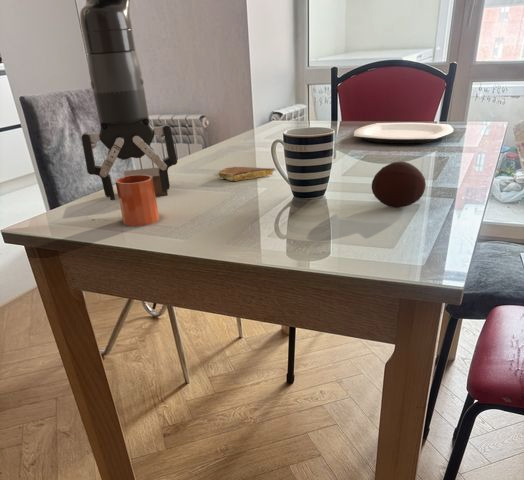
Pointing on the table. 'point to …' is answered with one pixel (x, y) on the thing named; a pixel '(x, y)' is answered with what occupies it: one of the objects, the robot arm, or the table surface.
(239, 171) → the cake slice
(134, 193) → the cup
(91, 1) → the robot arm
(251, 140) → the table surface
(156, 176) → the block
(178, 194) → the table surface
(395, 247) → the table surface
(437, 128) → the plate
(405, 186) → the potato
